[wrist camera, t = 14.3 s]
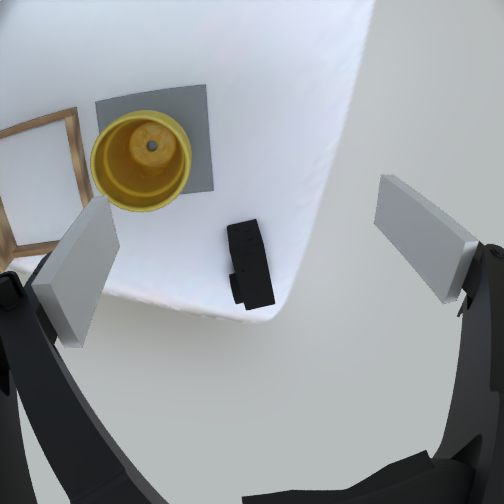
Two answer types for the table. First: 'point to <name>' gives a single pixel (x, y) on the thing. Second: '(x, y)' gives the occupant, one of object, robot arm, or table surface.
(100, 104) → the mat
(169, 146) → the plant pot
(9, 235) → the cold frame
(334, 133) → the table surface
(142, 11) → the table surface
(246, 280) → the digital camera
